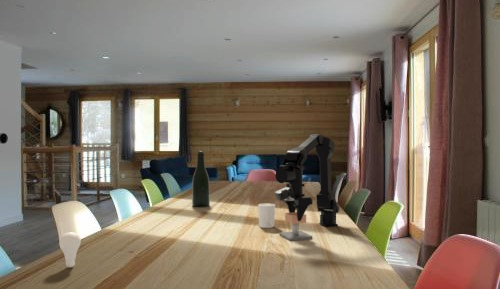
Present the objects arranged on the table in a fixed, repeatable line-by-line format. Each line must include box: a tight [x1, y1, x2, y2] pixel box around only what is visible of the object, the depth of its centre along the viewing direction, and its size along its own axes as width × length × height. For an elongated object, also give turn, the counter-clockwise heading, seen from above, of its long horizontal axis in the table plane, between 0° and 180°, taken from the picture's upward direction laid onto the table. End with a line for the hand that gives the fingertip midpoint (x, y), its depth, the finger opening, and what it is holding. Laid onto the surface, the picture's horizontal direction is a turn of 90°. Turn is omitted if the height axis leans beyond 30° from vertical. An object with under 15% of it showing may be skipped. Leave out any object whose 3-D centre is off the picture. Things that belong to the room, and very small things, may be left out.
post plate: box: [278, 223, 313, 242], centre depth 162 cm, size 10×10×6 cm
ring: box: [284, 211, 307, 225], centre depth 162 cm, size 6×6×3 cm
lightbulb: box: [58, 231, 82, 269], centre depth 125 cm, size 6×6×11 cm
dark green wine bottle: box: [191, 150, 211, 208], centre depth 240 cm, size 10×10×33 cm
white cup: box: [257, 202, 276, 229], centre depth 182 cm, size 8×8×10 cm
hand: (295, 219), depth 162 cm, fingers closed on ring, 6 cm apart
